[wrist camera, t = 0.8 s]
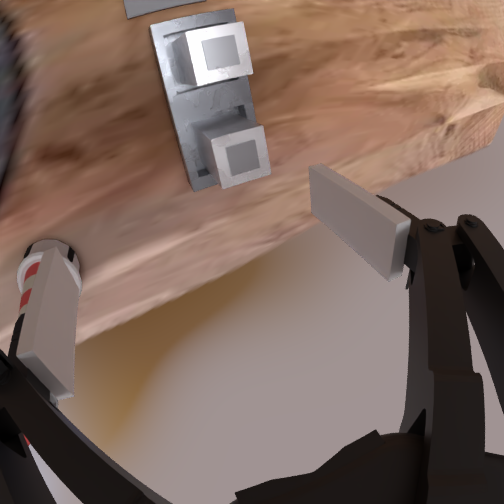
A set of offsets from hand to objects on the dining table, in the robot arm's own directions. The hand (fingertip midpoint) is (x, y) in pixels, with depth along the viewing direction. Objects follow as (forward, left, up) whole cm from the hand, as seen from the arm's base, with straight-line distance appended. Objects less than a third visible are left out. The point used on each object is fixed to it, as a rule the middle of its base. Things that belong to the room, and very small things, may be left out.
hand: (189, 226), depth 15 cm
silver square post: (+3, +7, -24) cm, 25 cm away
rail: (-2, +7, -24) cm, 26 cm away
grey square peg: (-7, +7, -24) cm, 26 cm away
